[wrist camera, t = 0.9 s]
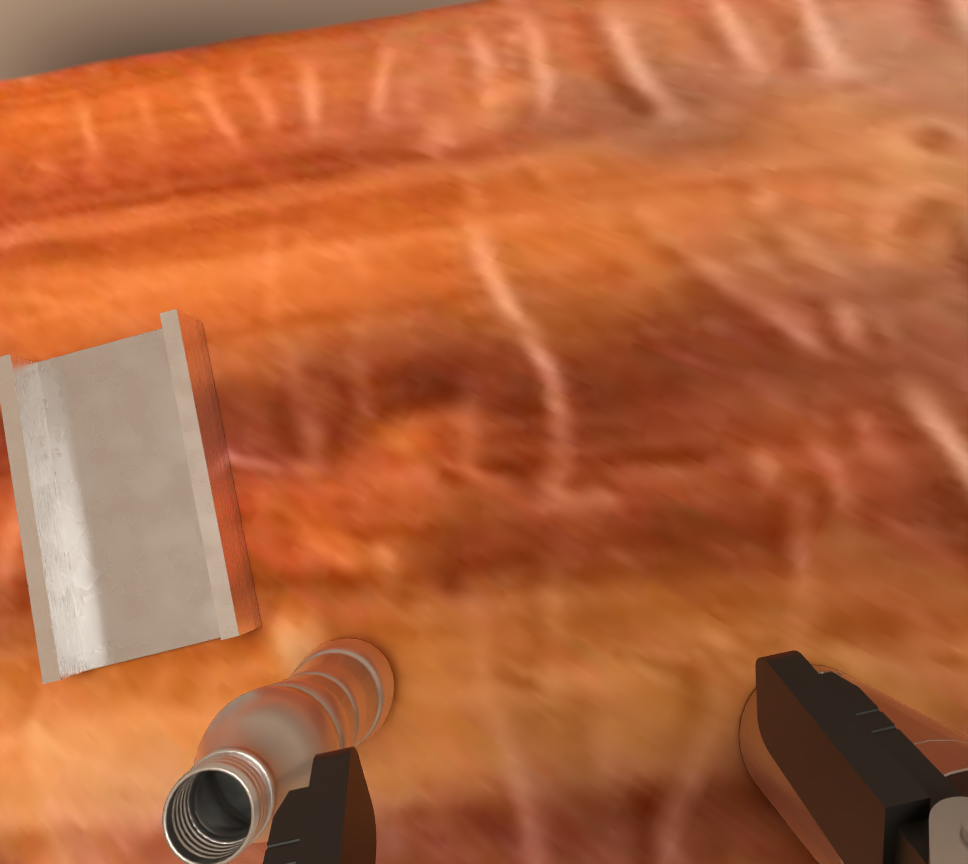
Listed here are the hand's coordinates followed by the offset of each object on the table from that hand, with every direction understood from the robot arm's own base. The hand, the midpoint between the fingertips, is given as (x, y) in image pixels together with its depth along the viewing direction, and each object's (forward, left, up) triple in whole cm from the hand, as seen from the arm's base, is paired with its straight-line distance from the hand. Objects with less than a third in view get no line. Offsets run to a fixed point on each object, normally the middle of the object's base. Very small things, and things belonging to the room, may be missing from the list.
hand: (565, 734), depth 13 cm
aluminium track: (+12, +26, -32) cm, 43 cm away
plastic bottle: (-4, +14, -32) cm, 35 cm away
